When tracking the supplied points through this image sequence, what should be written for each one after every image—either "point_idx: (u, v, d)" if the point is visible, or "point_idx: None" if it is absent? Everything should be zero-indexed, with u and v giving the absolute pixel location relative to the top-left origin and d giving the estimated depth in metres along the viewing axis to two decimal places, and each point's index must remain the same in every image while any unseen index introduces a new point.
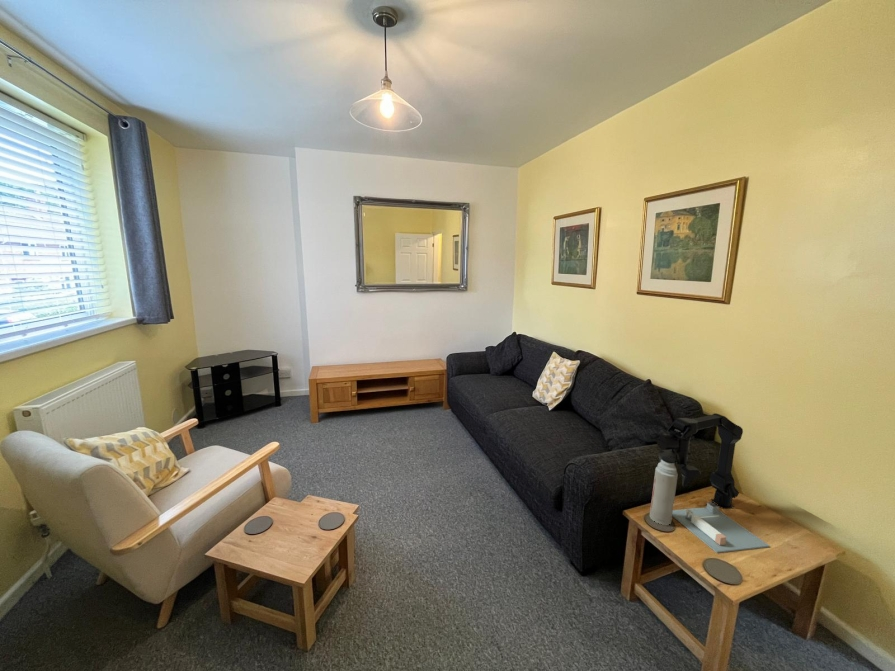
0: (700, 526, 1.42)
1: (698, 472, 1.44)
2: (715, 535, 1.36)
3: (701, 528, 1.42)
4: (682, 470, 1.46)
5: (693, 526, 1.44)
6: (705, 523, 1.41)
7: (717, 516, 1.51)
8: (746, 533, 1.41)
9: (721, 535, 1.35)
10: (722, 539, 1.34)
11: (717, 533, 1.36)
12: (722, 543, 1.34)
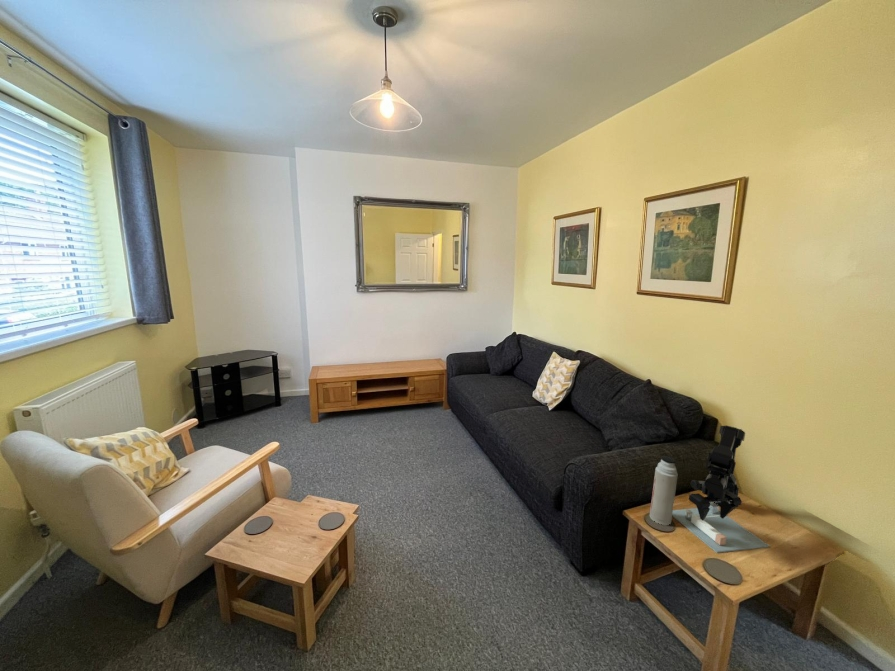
0: (700, 526, 1.42)
1: (698, 501, 1.34)
2: (715, 535, 1.36)
3: (701, 528, 1.42)
4: None
5: (693, 526, 1.44)
6: (705, 523, 1.41)
7: (717, 516, 1.51)
8: (746, 533, 1.41)
9: (721, 535, 1.35)
10: (722, 539, 1.34)
11: (717, 533, 1.36)
12: (722, 543, 1.34)
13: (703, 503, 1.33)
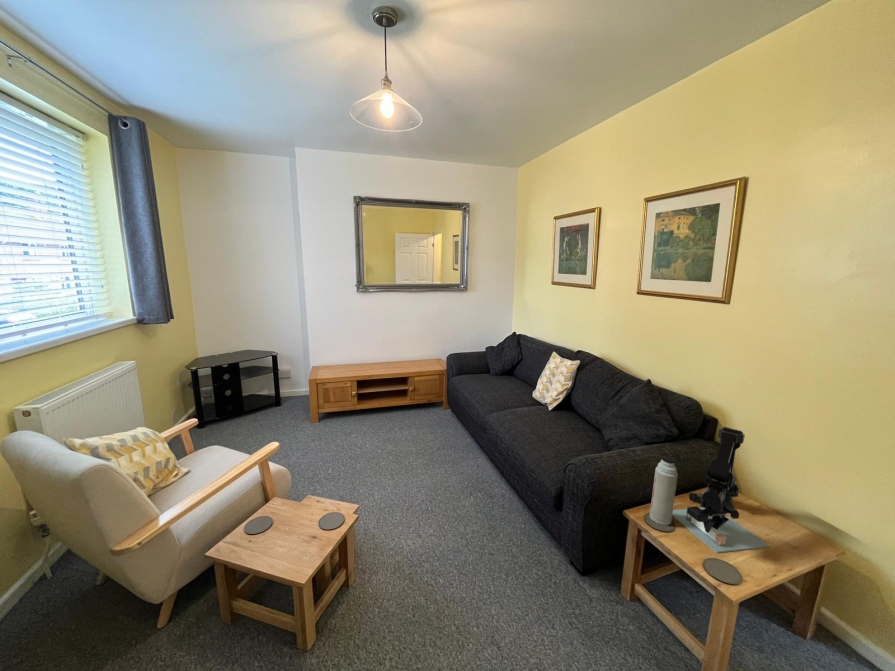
0: (700, 526, 1.42)
1: (696, 515, 1.35)
2: (715, 535, 1.36)
3: (701, 528, 1.42)
4: None
5: (693, 526, 1.44)
6: None
7: None
8: (746, 533, 1.41)
9: (721, 535, 1.35)
10: (722, 539, 1.34)
11: (717, 533, 1.36)
12: (722, 543, 1.34)
13: (701, 516, 1.34)
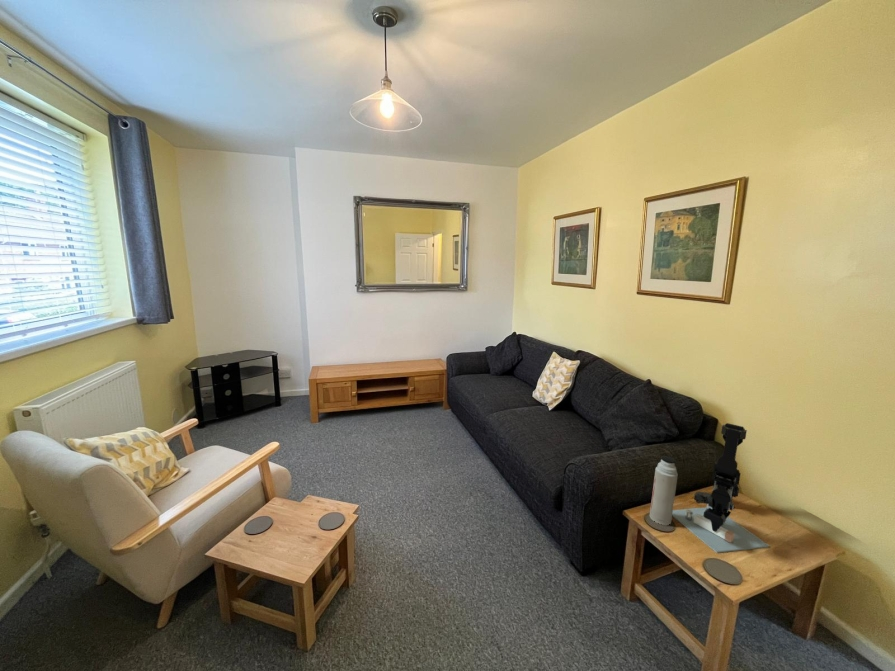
0: (705, 525, 1.43)
1: (718, 518, 1.33)
2: (724, 533, 1.37)
3: (707, 527, 1.42)
4: None
5: (693, 526, 1.44)
6: (710, 522, 1.42)
7: None
8: (746, 533, 1.41)
9: (730, 532, 1.36)
10: (732, 536, 1.36)
11: (725, 531, 1.37)
12: (732, 540, 1.36)
13: (723, 519, 1.32)
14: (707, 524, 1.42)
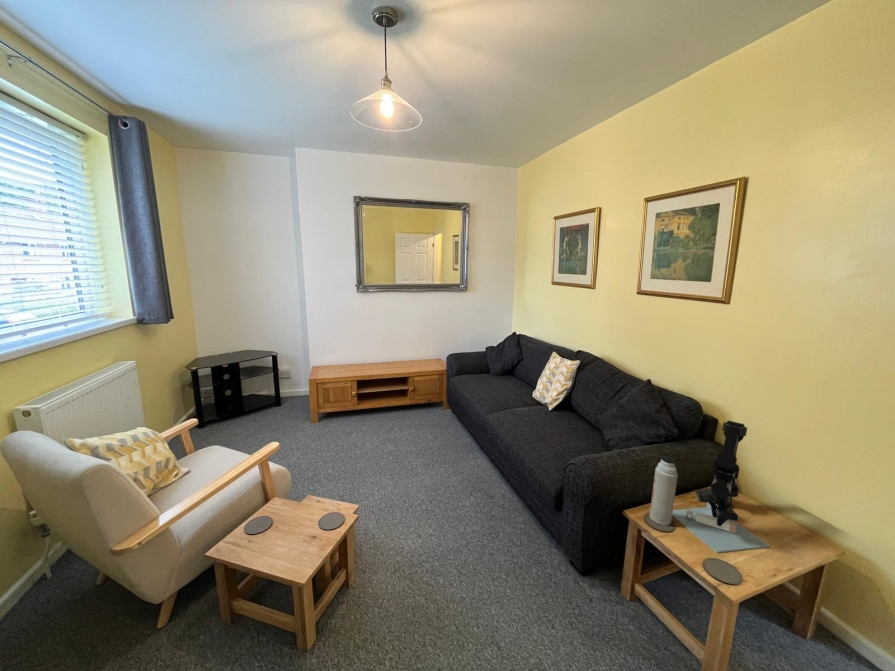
0: (709, 522, 1.45)
1: (734, 515, 1.35)
2: (729, 525, 1.41)
3: (710, 524, 1.44)
4: (717, 510, 1.39)
5: (693, 526, 1.44)
6: (711, 518, 1.45)
7: None
8: (746, 533, 1.41)
9: (732, 523, 1.42)
10: None
11: (728, 523, 1.42)
12: None
13: (737, 515, 1.35)
14: (711, 520, 1.44)
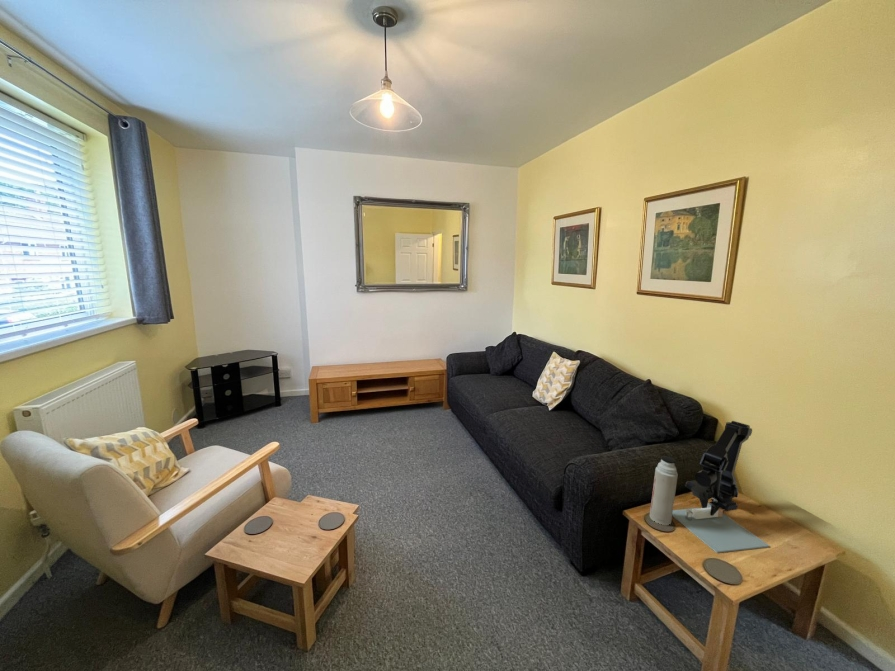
0: (704, 515, 1.49)
1: (735, 505, 1.41)
2: (718, 512, 1.50)
3: (705, 516, 1.49)
4: (719, 504, 1.43)
5: (693, 526, 1.44)
6: (705, 510, 1.50)
7: None
8: (746, 533, 1.41)
9: None
10: None
11: None
12: None
13: None
14: (706, 513, 1.49)
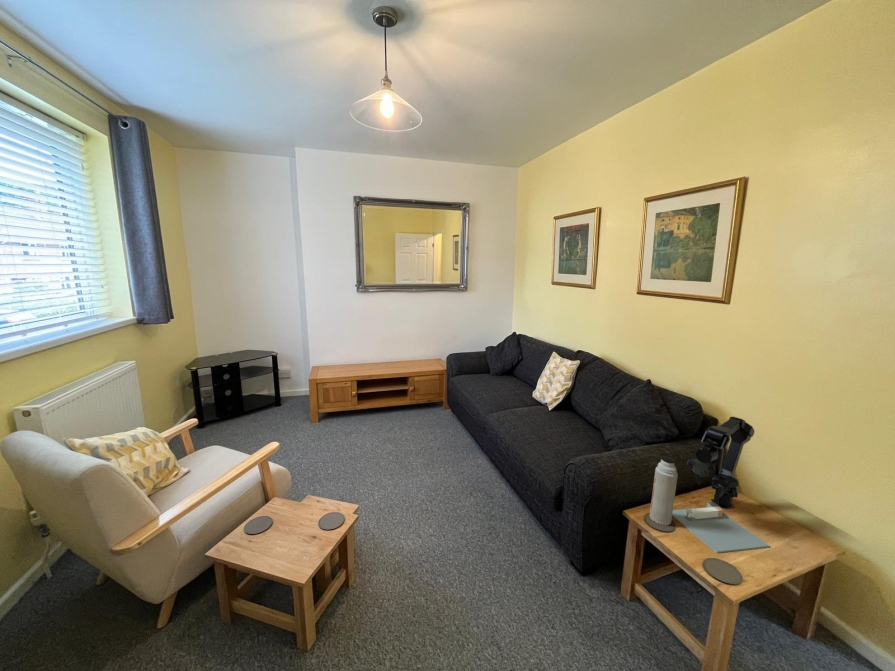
0: (704, 515, 1.49)
1: (737, 482, 1.41)
2: (718, 512, 1.50)
3: (705, 516, 1.49)
4: (721, 481, 1.43)
5: (693, 526, 1.44)
6: (705, 510, 1.50)
7: None
8: (746, 533, 1.41)
9: (717, 508, 1.52)
10: None
11: (716, 509, 1.51)
12: None
13: None
14: (706, 513, 1.49)
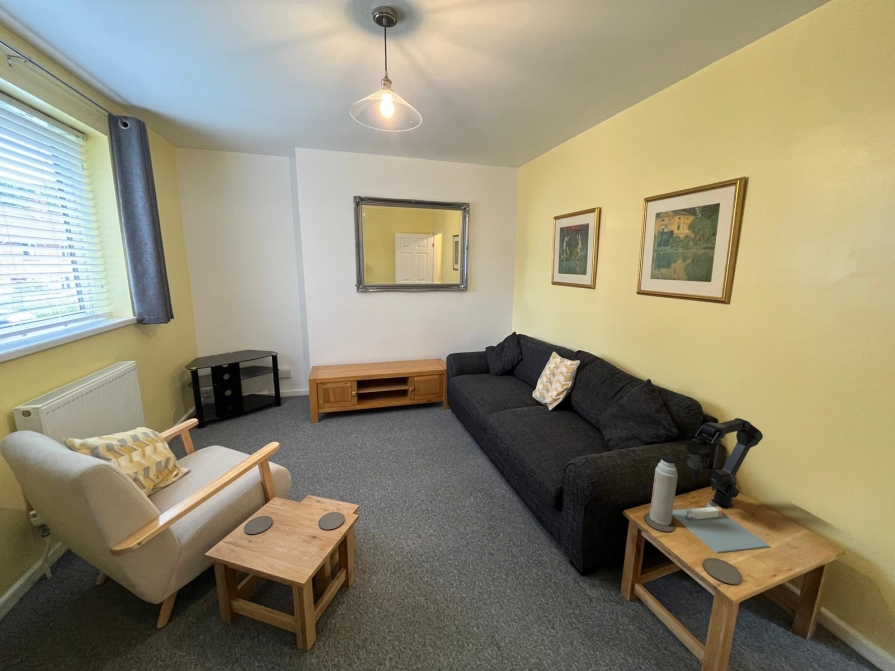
0: (704, 515, 1.49)
1: (729, 476, 1.45)
2: (718, 512, 1.50)
3: (705, 516, 1.49)
4: (713, 475, 1.47)
5: (693, 526, 1.44)
6: (705, 510, 1.50)
7: None
8: (746, 533, 1.41)
9: (717, 508, 1.52)
10: None
11: (716, 509, 1.51)
12: None
13: None
14: (706, 513, 1.49)
